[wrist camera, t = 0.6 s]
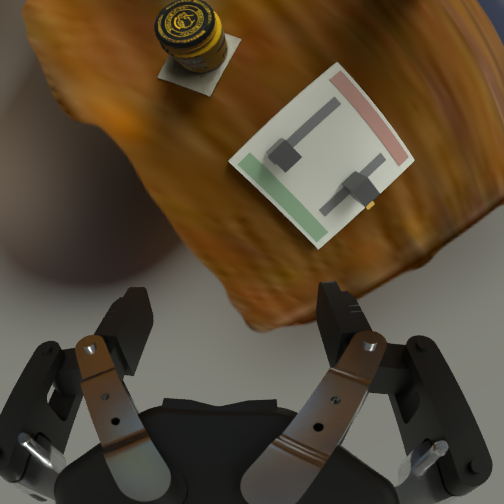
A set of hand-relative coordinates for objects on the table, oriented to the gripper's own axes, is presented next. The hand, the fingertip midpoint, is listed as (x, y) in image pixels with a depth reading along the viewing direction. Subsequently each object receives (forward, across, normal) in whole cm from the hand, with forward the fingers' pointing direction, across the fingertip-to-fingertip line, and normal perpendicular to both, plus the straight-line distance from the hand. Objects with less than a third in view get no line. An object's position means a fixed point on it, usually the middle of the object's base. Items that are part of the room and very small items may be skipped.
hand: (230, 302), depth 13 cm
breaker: (+22, -5, -4) cm, 23 cm away
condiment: (+25, +4, -17) cm, 30 cm away
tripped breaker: (+22, -14, 0) cm, 26 cm away
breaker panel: (+25, -11, -4) cm, 27 cm away
